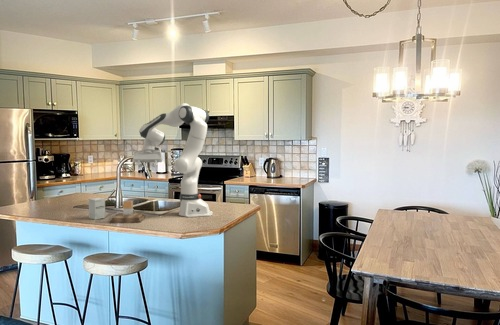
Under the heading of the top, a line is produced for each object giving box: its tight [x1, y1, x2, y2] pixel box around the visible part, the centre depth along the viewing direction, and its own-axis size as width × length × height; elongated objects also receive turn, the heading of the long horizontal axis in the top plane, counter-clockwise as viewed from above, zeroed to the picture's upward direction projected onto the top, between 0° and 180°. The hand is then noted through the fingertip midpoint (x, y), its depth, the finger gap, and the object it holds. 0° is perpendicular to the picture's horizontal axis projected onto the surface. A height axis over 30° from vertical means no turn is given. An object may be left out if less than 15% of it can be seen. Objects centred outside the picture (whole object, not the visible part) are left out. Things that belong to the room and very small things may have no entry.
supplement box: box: [88, 197, 106, 220], centre depth 238 cm, size 7×7×13 cm
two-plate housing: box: [122, 199, 134, 216], centre depth 233 cm, size 5×4×9 cm
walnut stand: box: [109, 212, 146, 224], centre depth 234 cm, size 18×16×3 cm
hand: (146, 166), depth 259 cm, fingers open, 8 cm apart
